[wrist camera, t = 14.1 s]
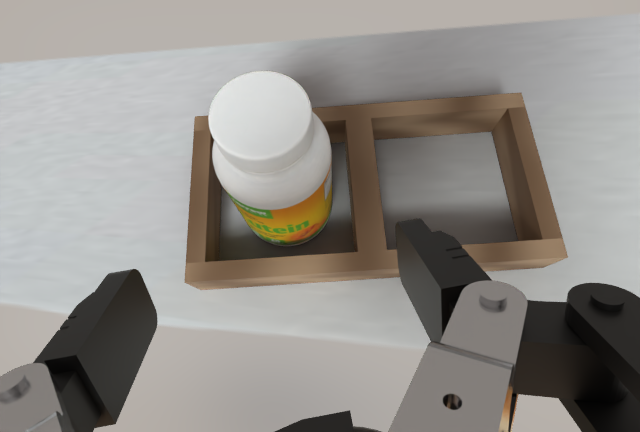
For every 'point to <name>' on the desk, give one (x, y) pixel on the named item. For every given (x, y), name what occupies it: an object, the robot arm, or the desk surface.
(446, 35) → the desk surface
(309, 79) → the desk surface
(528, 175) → the organizer
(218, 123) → the supplement bottle
